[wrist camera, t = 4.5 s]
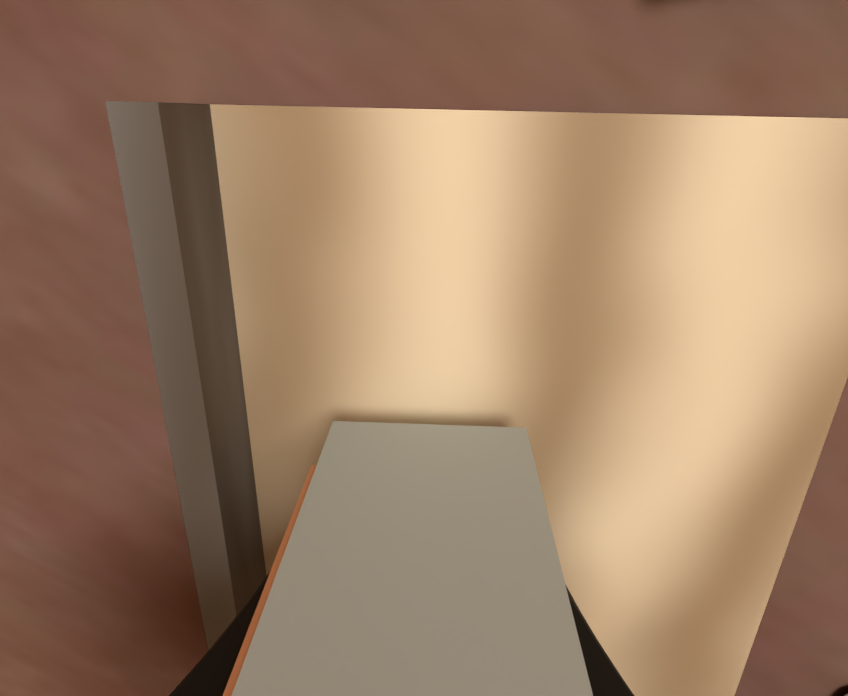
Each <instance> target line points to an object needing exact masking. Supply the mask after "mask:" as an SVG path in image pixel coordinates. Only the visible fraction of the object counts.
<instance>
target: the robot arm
mask: <svg viewBox="0 0 848 696" xmlns="http://www.w3.org/2000/svg"><path fill="white" fill-rule="evenodd" d="M270 571H271V570H270ZM269 574H270V572H269V573H268V575H267V576H266V577H265V579H264V580H263V582H262V583H261V584H260V586H259V587H258V588H257V590H256V591H255V593H254V594H253V595H252V597H251V598H250V599H249V601H248V602H247V603H246V604H245V606H244V607H243V608H242V610H241V611H240V612H239V614H238V615H237V616H236V618H235V619H234V620H233V621H232V622H231V624H230V625H229V626H228V627H227V629H226V630H225V631H224V632H223V634H222V635H221V636H220V637H219V639H218V640H217V641H216V642H215V643H214V645H213V646H212V647H211V648H210V650H209V651H208V652H207V653H206V654H205V656H204V657H203V658H202V659H201V660H200V661H199V663H198V664H197V665H196V666H195V667H194V668H193V669H192V670H191V672H190V673H189V674H188V675H187V676H186V677H185V678H184V679H183V681H182V682H181V683H180V684H179V685H178V686H177V687H176V688H175V690H174V691H173V692H172V693H171V694H170V695H169V696H223V693H224V691H225V688H226V686H227V683H228V680H229V678H230V675H231V673H232V670H233V667H234V665H235V662H236V660H237V657H238V654H239V652H240V649H241V647H242V644H243V641H244V639H245V636H246V634H247V631H248V628H249V626H250V623H251V621H252V618H253V615H254V613H255V610H256V608H257V605H258V602H259V600H260V597H261V595H262V592H263V589H264V587H265V584H266V582H267V579H268V576H269ZM565 585H566V584H565ZM566 589H567V593H568V597H569V601H570V605H571V609H572V613H573V617H574V621H575V625H576V629H577V633H578V637H579V641H580V645H581V649H582V653H583V657H584V661H585V665H586V669H587V673H588V677H589V681H590V685H591V689H592V693H593V696H634V694H633V693H632V691H631V690H630V688H629V687H628V686H627V684H626V683H625V681H624V680H623V678H622V677H621V675H620V674H619V672H618V671H617V669H616V668H615V666H614V664H613V663H612V661H611V660H610V658H609V657H608V655H607V654H606V652H605V651H604V649H603V648H602V646H601V644H600V643H599V641H598V640H597V638H596V636H595V635H594V633H593V632H592V630H591V628H590V627H589V625H588V623H587V621H586V620H585V618H584V616H583V615H582V613H581V611H580V610H579V608H578V606H577V604H576V603H575V601H574V599H573V597H572V595H571V593H570V592H569V590H568V588H567V586H566ZM844 696H848V693H847V694H846V695H844Z"/></svg>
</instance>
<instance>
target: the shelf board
mask: <svg viewBox="0 0 848 696" xmlns="http://www.w3.org/2000/svg"><path fill="white" fill-rule="evenodd" d="M105 102H106V108H107V113H108V118H109V124H110V129H111V134H112V140H113V145H114V150H115V156H116V161H117V166H118V172H119V177H120V182H121V188H122V193H123V198H124V204H125V209H126V214H127V220H128V225H129V230H130V236H131V241H132V247H133V252H134V257H135V263H136V268H137V273H138V279H139V284H140V289H141V295H142V300H143V305H144V311H145V316H146V321H147V327H148V332H149V337H150V343H151V348H152V353H153V359H154V364H155V369H156V375H157V380H158V385H159V391H160V396H161V401H162V407H163V412H164V418H165V423H166V428H167V434H168V439H169V444H170V450H171V455H172V460H173V466H174V471H175V476H176V482H177V487H178V492H179V498H180V503H181V508H182V514H183V519H184V524H185V530H186V535H187V540H188V546H189V551H190V556H191V562H192V567H193V572H194V578H195V583H196V588H197V594H198V599H199V605H200V610H201V615H202V621H203V626H204V631H205V637H206V642H207V647H208V651H209V650H210V648H211V647H212V646H213V645H214V643H215V642H216V641H217V640H218V639H219V637H220V636H221V635H222V634H223V632H224V631H225V630H226V629H227V627H228V626H229V625H230V624H231V622H232V621H233V620H234V619H235V618H236V616H237V615H238V614H239V612H240V611H241V610H242V608H243V607H244V606H245V604H246V603H247V602H248V601H249V599H250V598H251V597H252V595H253V594H254V593H255V591H256V590H257V588H258V587H259V586H260V584H261V583H262V582H263V580H264V579H265V577H266V576H267V575H268V573H269V572H270V570H271V569H272V566H273V563H274V561H275V558H276V556H277V553H278V550H279V548H280V545H281V543H282V540H283V537H284V535H285V532H286V530H287V527H288V524H289V522H290V519H291V517H292V514H293V511H294V509H295V506H296V504H297V501H298V498H299V496H300V493H301V491H302V488H303V485H304V483H305V480H306V478H307V475H308V472H309V470H310V467H311V465H317V463H318V460H319V457H320V455H321V452H322V449H323V447H324V444H325V441H326V439H327V436H328V433H329V430H330V428H331V425H332V422H333V421H350V422H378V423H407V424H435V425H464V426H493V427H521V428H526V429H527V433H528V437H529V441H530V445H531V449H532V453H533V457H534V461H535V465H536V469H537V473H538V477H539V481H540V485H541V489H542V493H543V497H544V501H545V505H546V509H547V513H548V517H549V521H550V525H551V529H552V533H553V537H554V541H555V545H556V549H557V553H558V557H559V561H560V565H561V569H562V573H563V577H564V581H565V584H566V586H567V588H568V590H569V592H570V593H571V595H572V597H573V599H574V601H575V603H576V604H577V606H578V608H579V610H580V611H581V613H582V615H583V616H584V618H585V620H586V621H587V623H588V625H589V627H590V628H591V630H592V632H593V633H594V635H595V636H596V638H597V640H598V641H599V643H600V644H601V646H602V648H603V649H604V651H605V652H606V654H607V655H608V657H609V658H610V660H611V661H612V663H613V664H614V666H615V668H616V669H617V671H618V672H619V674H620V675H621V677H622V678H623V680H624V681H625V683H626V684H627V686H628V687H629V688H630V690H631V691H632V693H633V694H634V696H734V695H735V692H736V689H737V686H738V684H739V681H740V678H741V675H742V672H743V670H744V667H745V664H746V661H747V658H748V656H749V653H750V650H751V647H752V644H753V641H754V639H755V636H756V633H757V630H758V627H759V625H760V622H761V619H762V616H763V613H764V611H765V608H766V605H767V602H768V599H769V597H770V594H771V591H772V588H773V585H774V582H775V580H776V577H777V574H778V571H779V568H780V566H781V563H782V560H783V557H784V554H785V552H786V549H787V546H788V543H789V540H790V538H791V535H792V532H793V529H794V526H795V523H796V521H797V518H798V515H799V512H800V509H801V507H802V504H803V501H804V498H805V495H806V493H807V490H808V487H809V484H810V481H811V479H812V476H813V473H814V470H815V467H816V464H817V462H818V459H819V456H820V453H821V450H822V448H823V445H824V442H825V439H826V436H827V434H828V431H829V428H830V425H831V422H832V420H833V417H834V414H835V411H836V408H837V405H838V403H839V400H840V397H841V394H842V391H843V389H844V386H845V383H846V380H847V377H848V119H843V118H798V117H753V116H708V115H663V114H618V113H572V112H527V111H482V110H437V109H392V108H347V107H302V106H257V105H211V104H186V103H161V102H119V101H105Z"/></svg>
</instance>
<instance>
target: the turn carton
mask: <svg viewBox="0 0 848 696" xmlns="http://www.w3.org/2000/svg"><path fill="white" fill-rule="evenodd" d="M223 696H593V693H592V689H591V685H590V681H589V677H588V673H587V669H586V665H585V661H584V657H583V653H582V649H581V645H580V641H579V637H578V633H577V629H576V625H575V621H574V617H573V613H572V609H571V605H570V601H569V597H568V593H567V589H566V585H565V581H564V577H563V573H562V569H561V565H560V561H559V557H558V553H557V549H556V545H555V541H554V537H553V533H552V529H551V525H550V521H549V517H548V513H547V509H546V505H545V501H544V497H543V493H542V489H541V485H540V481H539V477H538V473H537V469H536V465H535V461H534V457H533V453H532V449H531V445H530V441H529V437H528V433H527V429H526V428H521V427H493V426H464V425H435V424H407V423H378V422H350V421H333V422H332V425H331V428H330V430H329V433H328V436H327V439H326V441H325V444H324V447H323V449H322V452H321V455H320V457H319V460H318V463H317V465H311V467H310V470H309V472H308V475H307V478H306V480H305V483H304V485H303V488H302V491H301V493H300V496H299V498H298V501H297V504H296V506H295V509H294V511H293V514H292V517H291V519H290V522H289V524H288V527H287V530H286V532H285V535H284V537H283V540H282V543H281V545H280V548H279V550H278V553H277V556H276V558H275V561H274V563H273V566H272V569H271V571H270V574H269V576H268V579H267V582H266V584H265V587H264V589H263V592H262V595H261V597H260V600H259V602H258V605H257V608H256V610H255V613H254V615H253V618H252V621H251V623H250V626H249V628H248V631H247V634H246V636H245V639H244V641H243V644H242V647H241V649H240V652H239V654H238V657H237V660H236V662H235V665H234V667H233V670H232V673H231V675H230V678H229V680H228V683H227V686H226V688H225V691H224V693H223Z"/></svg>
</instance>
